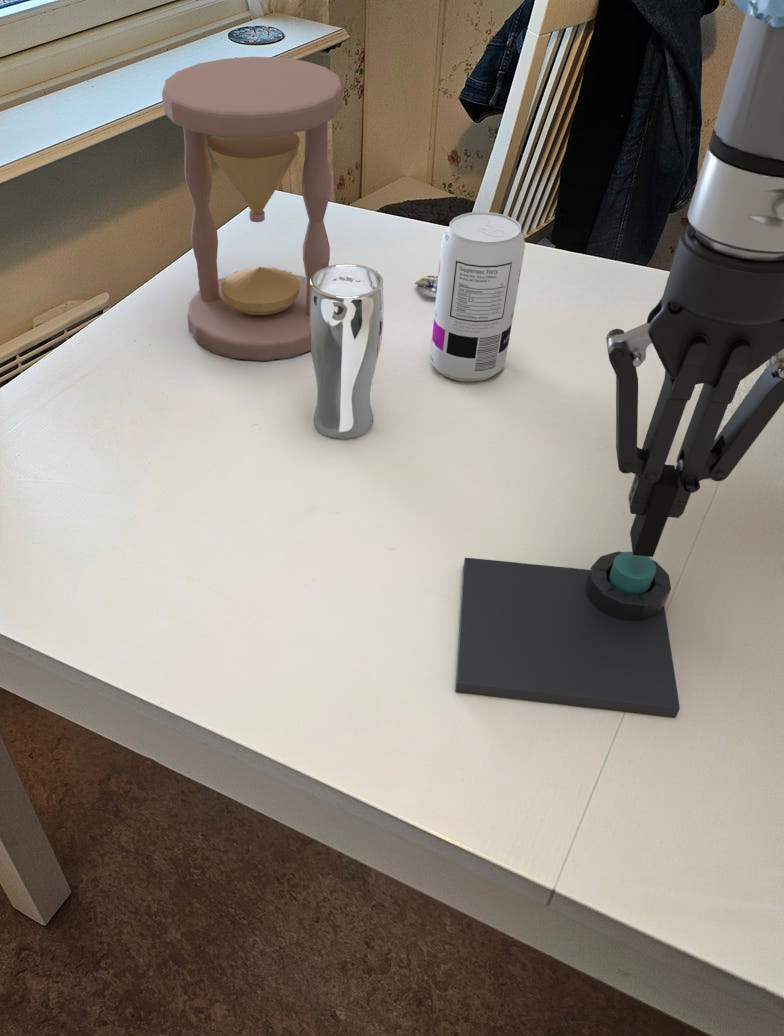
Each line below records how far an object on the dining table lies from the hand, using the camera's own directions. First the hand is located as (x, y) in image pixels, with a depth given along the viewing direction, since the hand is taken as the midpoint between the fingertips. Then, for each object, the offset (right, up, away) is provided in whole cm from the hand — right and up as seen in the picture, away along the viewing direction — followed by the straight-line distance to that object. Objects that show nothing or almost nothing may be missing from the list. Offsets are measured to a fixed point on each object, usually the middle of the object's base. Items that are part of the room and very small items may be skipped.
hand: (641, 544), depth 69 cm
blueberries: (-8, +36, +42) cm, 56 cm away
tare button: (0, -3, +3) cm, 4 cm away
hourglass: (-31, +30, +37) cm, 57 cm away
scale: (-5, -7, +2) cm, 9 cm away
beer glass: (-22, +15, +23) cm, 35 cm away
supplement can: (-8, +23, +30) cm, 39 cm away
